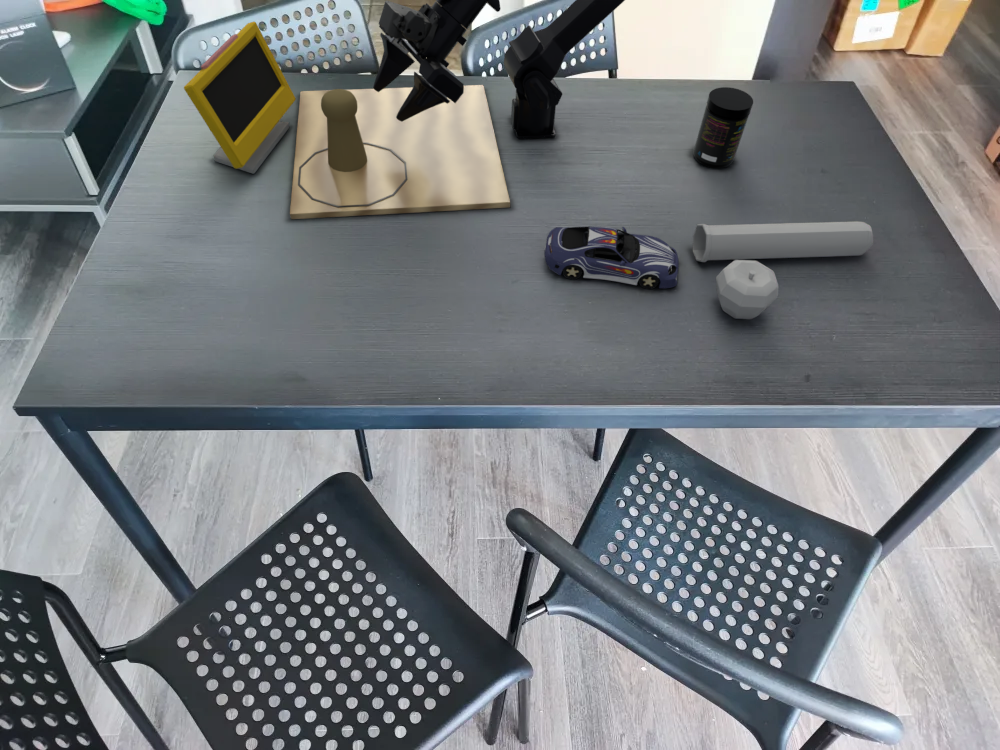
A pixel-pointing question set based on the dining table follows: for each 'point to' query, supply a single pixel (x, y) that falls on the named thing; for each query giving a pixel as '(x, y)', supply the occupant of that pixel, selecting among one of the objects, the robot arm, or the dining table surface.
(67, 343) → the dining table surface
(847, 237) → the tube
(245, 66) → the toy computer monitor
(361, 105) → the sketch board
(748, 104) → the supplement container
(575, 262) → the toy car
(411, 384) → the dining table surface
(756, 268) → the apple
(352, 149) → the pepper shaker
